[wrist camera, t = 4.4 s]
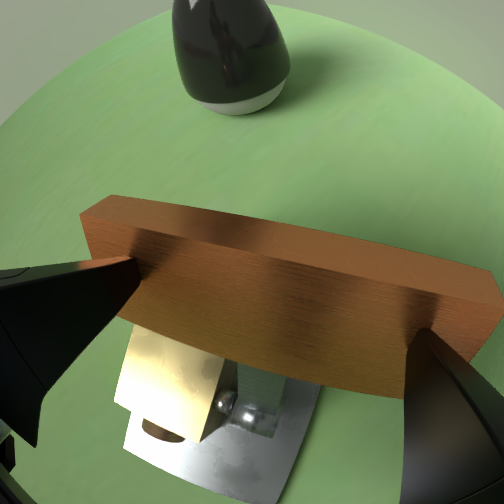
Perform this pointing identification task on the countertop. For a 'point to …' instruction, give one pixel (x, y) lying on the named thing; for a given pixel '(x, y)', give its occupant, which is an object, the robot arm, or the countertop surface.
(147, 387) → the valve
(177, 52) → the pump dispenser
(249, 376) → the lever
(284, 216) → the countertop surface
